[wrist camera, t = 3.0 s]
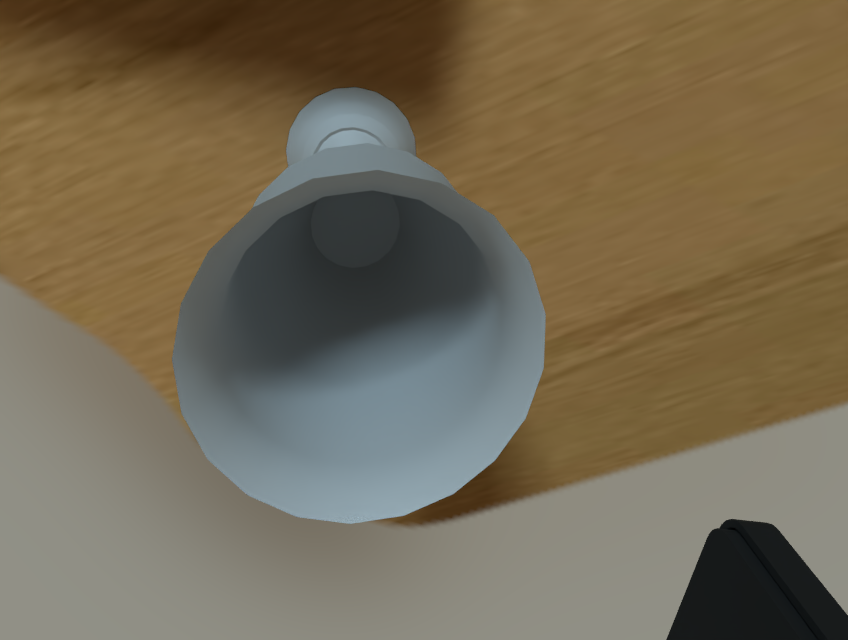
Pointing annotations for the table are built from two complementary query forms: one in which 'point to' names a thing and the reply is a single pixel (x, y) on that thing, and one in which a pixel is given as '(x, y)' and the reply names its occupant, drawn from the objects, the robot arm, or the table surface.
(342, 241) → the chalice
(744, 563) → the robot arm
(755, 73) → the table surface
